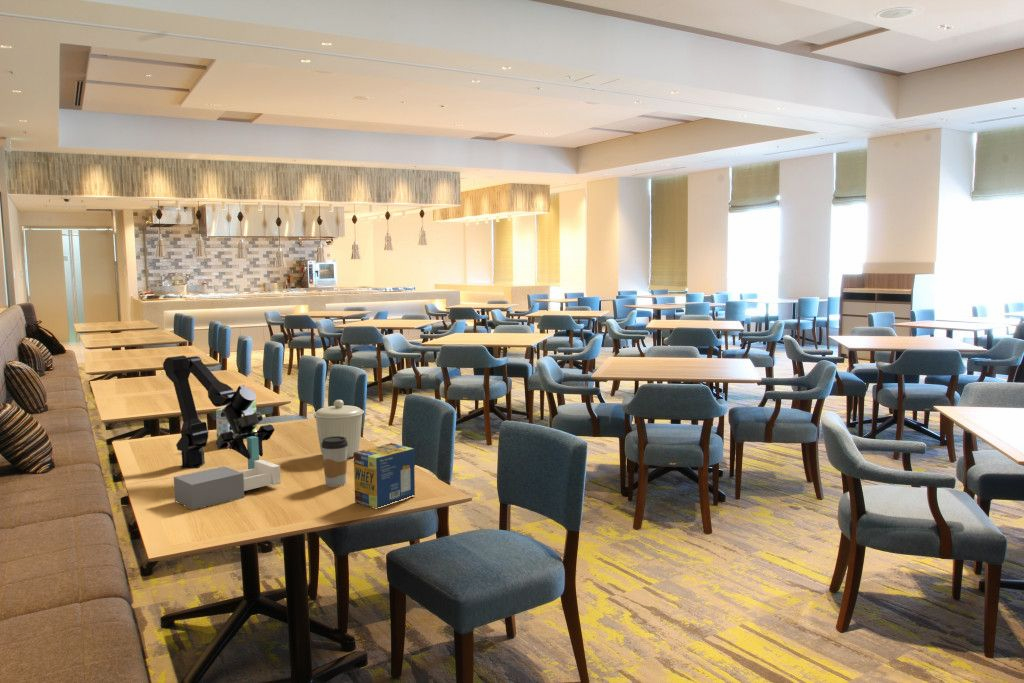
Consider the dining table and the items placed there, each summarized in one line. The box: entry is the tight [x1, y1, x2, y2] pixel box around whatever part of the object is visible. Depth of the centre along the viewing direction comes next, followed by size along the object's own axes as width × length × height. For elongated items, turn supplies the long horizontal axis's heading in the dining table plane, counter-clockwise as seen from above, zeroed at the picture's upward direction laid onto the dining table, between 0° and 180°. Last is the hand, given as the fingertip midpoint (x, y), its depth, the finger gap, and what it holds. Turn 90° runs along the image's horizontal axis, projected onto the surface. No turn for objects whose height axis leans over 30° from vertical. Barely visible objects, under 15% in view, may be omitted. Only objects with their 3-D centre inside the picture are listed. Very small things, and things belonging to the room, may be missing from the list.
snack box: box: [215, 400, 258, 449], centre depth 307 cm, size 21×6×15 cm, turn 168°
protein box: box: [353, 442, 416, 509], centre depth 232 cm, size 10×15×16 cm
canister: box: [313, 399, 365, 459], centre depth 284 cm, size 18×18×21 cm
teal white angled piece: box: [239, 436, 281, 492], centre depth 244 cm, size 17×16×13 cm
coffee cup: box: [321, 436, 348, 488], centre depth 248 cm, size 8×8×15 cm
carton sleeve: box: [173, 465, 245, 510], centre depth 234 cm, size 16×12×8 cm
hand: (255, 457), depth 253 cm, fingers open, 4 cm apart
